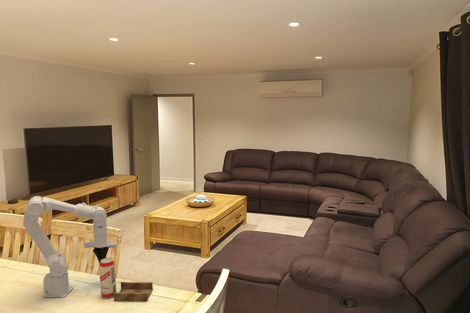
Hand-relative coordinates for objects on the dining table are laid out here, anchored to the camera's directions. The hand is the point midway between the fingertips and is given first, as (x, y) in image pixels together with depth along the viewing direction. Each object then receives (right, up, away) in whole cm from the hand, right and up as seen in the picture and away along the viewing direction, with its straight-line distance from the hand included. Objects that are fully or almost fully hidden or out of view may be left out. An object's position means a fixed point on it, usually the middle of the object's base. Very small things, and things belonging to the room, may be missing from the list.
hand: (102, 262), depth 162 cm
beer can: (+6, -12, -8) cm, 15 cm away
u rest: (+17, -12, -8) cm, 22 cm away
